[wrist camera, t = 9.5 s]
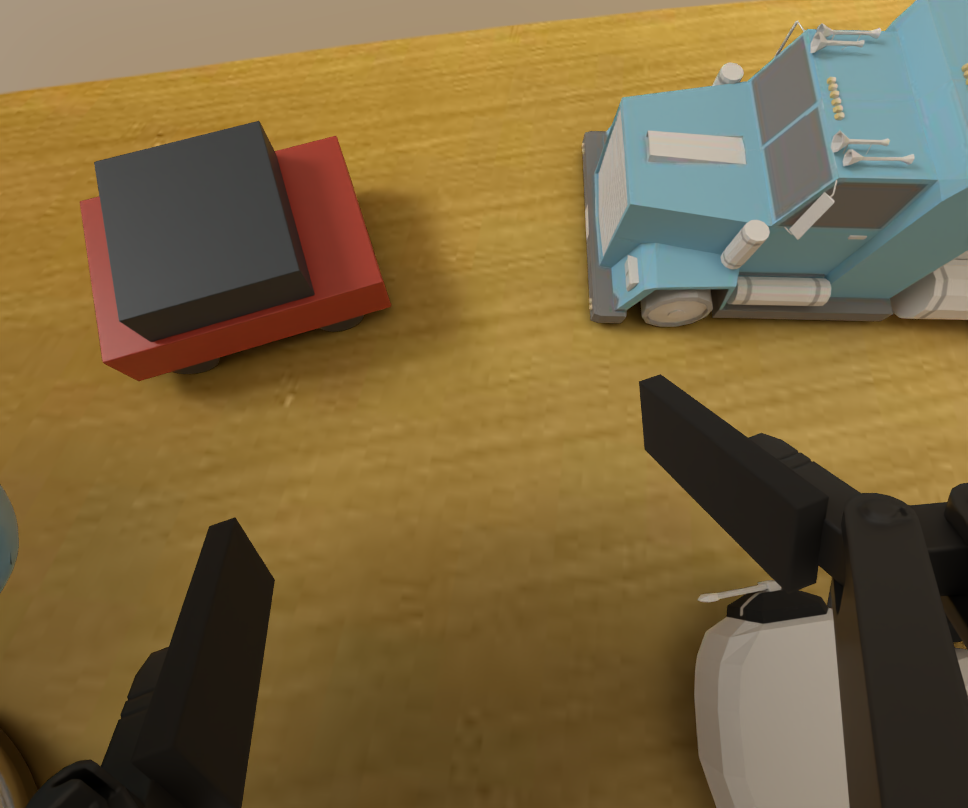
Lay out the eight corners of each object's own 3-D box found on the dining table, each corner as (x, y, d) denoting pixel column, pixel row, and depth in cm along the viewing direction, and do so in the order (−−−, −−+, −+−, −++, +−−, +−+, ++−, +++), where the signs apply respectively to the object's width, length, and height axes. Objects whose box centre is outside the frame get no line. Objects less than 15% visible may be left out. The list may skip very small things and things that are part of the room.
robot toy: (932, 550, 26) (647, 590, 24) (1033, 548, 21) (694, 597, 20) (1035, 842, 22) (712, 915, 20) (1180, 911, 18) (786, 1011, 16)
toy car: (63, 343, 21) (42, 168, 23) (153, 389, 27) (129, 245, 29) (373, 255, 22) (324, 98, 24) (395, 317, 28) (352, 185, 30)
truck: (577, 147, 31) (664, -200, 17) (1044, 158, 32) (1522, -174, 17) (585, 328, 28) (703, 88, 13) (1109, 339, 28) (1771, 115, 14)
